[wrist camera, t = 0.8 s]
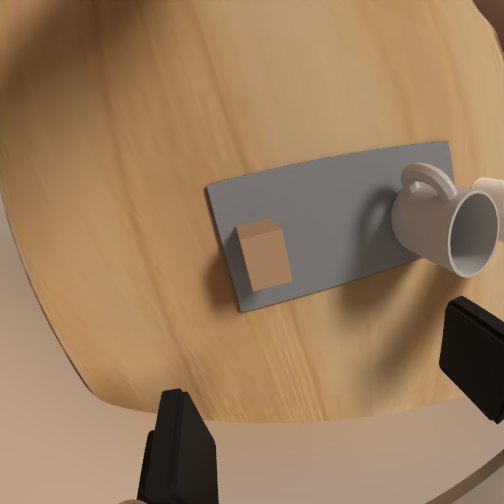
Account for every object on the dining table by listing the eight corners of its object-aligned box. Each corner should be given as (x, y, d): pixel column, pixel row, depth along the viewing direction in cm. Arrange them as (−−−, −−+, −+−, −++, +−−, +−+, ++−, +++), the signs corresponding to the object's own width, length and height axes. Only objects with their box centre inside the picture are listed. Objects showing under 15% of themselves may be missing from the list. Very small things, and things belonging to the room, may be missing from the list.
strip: (206, 185, 24) (203, 188, 19) (446, 140, 25) (479, 140, 20) (241, 310, 28) (246, 341, 23) (455, 243, 29) (486, 255, 24)
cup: (406, 262, 28) (461, 294, 20) (361, 185, 25) (420, 194, 17) (448, 221, 27) (505, 240, 19) (409, 144, 25) (472, 141, 16)
